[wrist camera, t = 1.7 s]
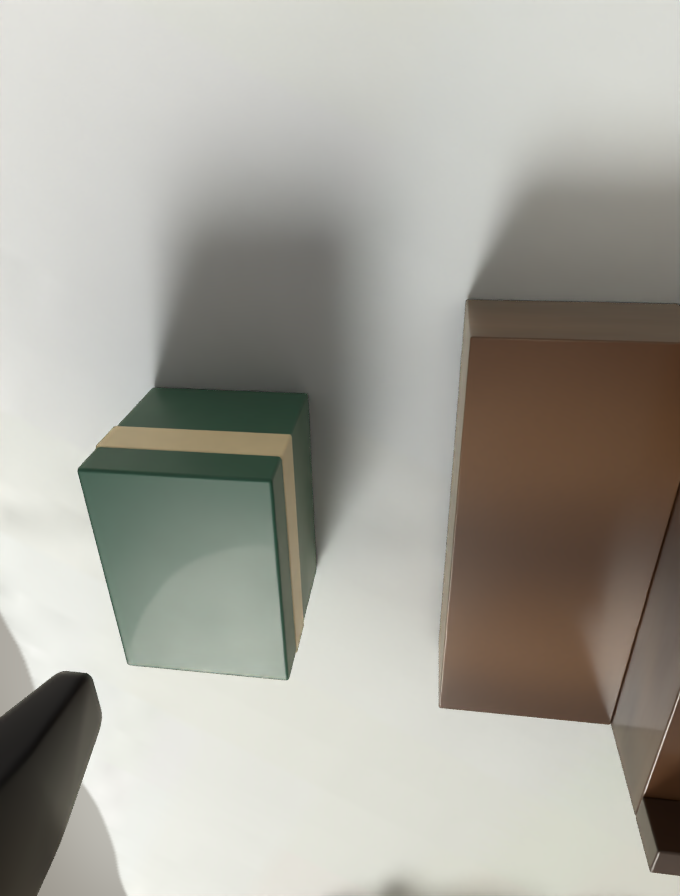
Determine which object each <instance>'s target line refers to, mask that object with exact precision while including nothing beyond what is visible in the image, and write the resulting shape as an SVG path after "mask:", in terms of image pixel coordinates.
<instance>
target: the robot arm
mask: <svg viewBox="0 0 680 896" xmlns="http://www.w3.org/2000/svg"><path fill="white" fill-rule="evenodd" d="M101 720H102V712H101V707H100V704H99V700H98V697H97V693H96V689H95V686H94V682H93V679H92V677H91V676H90V675H89V674H87V673H80V672H70V671H62V672H60V673H57V674H56V675H54V676H53V677H51V678H50V679H49V680H48V681H46V682H45V683H44V684H42V685H41V686H40V687H39V688H37V689H36V690H35V691H34V692H32V693H31V694H30V695H28V696H27V697H26V698H25V699H23V700H22V701H21V702H19V703H18V704H17V705H15V706H14V707H13V708H12V709H10V710H9V711H8V712H6V713H5V714H4V715H3V716H2V717H0V896H37V894H38V892H39V890H40V888H41V885H42V883H43V881H44V879H45V877H46V874H47V872H48V870H49V868H50V866H51V863H52V861H53V859H54V856H55V854H56V852H57V849H58V847H59V844H60V842H61V840H62V837H63V834H64V832H65V829H66V826H67V823H68V821H69V818H70V815H71V812H72V809H73V806H74V803H75V800H76V797H77V794H78V791H79V788H80V786H81V783H82V780H83V777H84V774H85V771H86V768H87V765H88V762H89V759H90V756H91V753H92V750H93V748H94V745H95V742H96V739H97V736H98V733H99V730H100V726H101Z"/></svg>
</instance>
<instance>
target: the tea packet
mask: <svg viewBox="0 0 680 896" xmlns="http://www.w3.org/2000/svg"><path fill="white" fill-rule="evenodd" d="M78 475H79V479H80V483H81V486H82V490H83V494H84V498H85V502H86V506H87V510H88V513H89V517H90V521H91V525H92V529H93V533H94V537H95V540H96V544H97V548H98V552H99V556H100V560H101V564H102V567H103V571H104V575H105V579H106V583H107V587H108V590H109V594H110V598H111V602H112V606H113V610H114V614H115V617H116V621H117V625H118V629H119V633H120V637H121V641H122V644H123V648H124V652H125V656H126V660H127V664H128V665H133V666H144V667H154V668H164V669H175V670H185V671H195V672H206V673H216V674H227V675H237V676H247V677H258V678H268V679H278V680H288V679H289V677H290V673H291V669H292V665H293V661H294V657H295V653H296V652H297V651H298V647H299V643H300V639H301V635H302V630H303V626H304V617H305V613H306V609H307V605H308V601H309V597H310V593H311V589H312V585H313V581H314V577H315V573H316V550H315V529H314V508H313V487H312V466H311V445H310V424H309V403H308V395H307V394H306V393H281V392H256V391H231V390H206V389H181V388H152V389H151V390H150V391H149V392H148V393H147V394H146V395H145V397H144V398H143V399H142V400H141V401H140V402H139V403H138V404H137V405H136V406H135V407H134V408H133V410H132V411H131V412H130V413H129V414H128V415H127V416H126V417H125V418H124V419H123V420H122V421H121V422H120V424H119V425H118V426H115V427H113V428H112V429H111V430H110V431H109V432H108V434H107V435H106V436H105V437H104V438H103V439H102V440H101V441H100V442H99V443H98V444H97V445H96V449H95V451H94V452H93V453H92V454H91V455H90V456H89V457H88V458H87V459H86V460H85V461H84V462H83V463H82V465H81V466H80V467H79V468H78Z"/></svg>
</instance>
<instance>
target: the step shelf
mask: <svg viewBox="0 0 680 896" xmlns="http://www.w3.org/2000/svg"><path fill="white" fill-rule="evenodd" d="M439 708H446V709H456V710H467V711H477V712H487V713H497V714H507V715H517V716H527V717H537V718H547V719H557V720H568V721H578V722H588V723H598V724H608V725H609V724H610V723H611V726H612V730H613V734H614V737H615V741H616V745H617V749H618V752H619V756H620V760H621V764H622V768H623V771H624V775H625V779H626V783H627V786H628V790H629V794H630V798H631V801H632V805H633V809H634V813H635V815H636V821H637V824H638V828H639V832H640V836H641V839H642V843H643V847H644V851H645V854H646V858H647V862H648V866H649V869H650V871H651V872H653V873H661V874H669V875H677V876H680V305H678V304H659V303H610V302H562V301H513V300H466V304H465V317H464V329H463V342H462V354H461V367H460V380H459V392H458V405H457V417H456V430H455V443H454V455H453V468H452V480H451V493H450V506H449V518H448V531H447V543H446V556H445V569H444V581H443V594H442V606H441V619H440V632H439Z"/></svg>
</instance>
